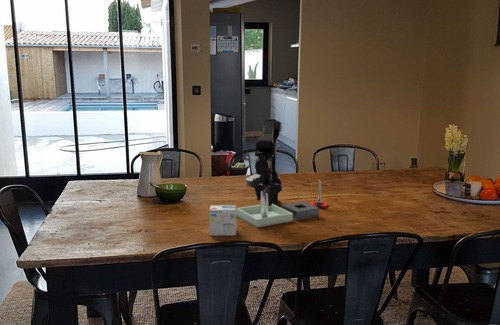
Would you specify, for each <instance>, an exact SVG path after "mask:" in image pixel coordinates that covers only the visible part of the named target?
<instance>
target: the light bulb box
mask: <svg viewBox="0 0 500 325" xmlns="http://www.w3.org/2000/svg"><path fill="white" fill-rule="evenodd" d="M236 208H237V205H236V204H235V205H233V204H232V205H225V204H224V205H212V204H211V205H210V207H209V236H237V230H238V229H237V228H238V226H237V225H238V224H237V220H238V219H237V218H238V217H237V216H236Z"/></svg>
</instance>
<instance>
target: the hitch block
mask: <svg viewBox="0 0 500 325" xmlns="http://www.w3.org/2000/svg"><path fill="white" fill-rule="evenodd" d="M281 208H282V209H284V210H286V211H289V212H291V213H293V221H294V220H295V221H302V220H308V219H313V218H319V217H320V216H319V215H320V208H318V207H315V206H313V205H311V204H310V203H308V202H306V201H296V202H291V203H284V204H281Z"/></svg>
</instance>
